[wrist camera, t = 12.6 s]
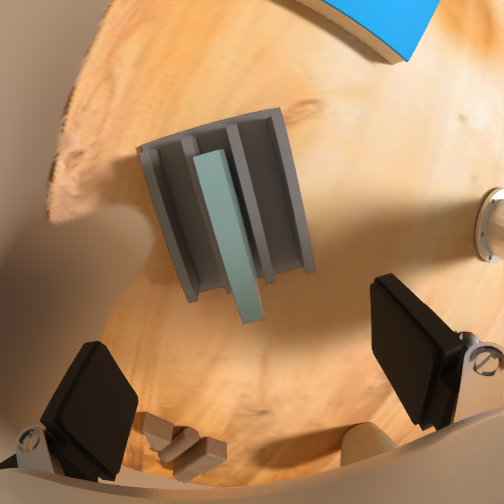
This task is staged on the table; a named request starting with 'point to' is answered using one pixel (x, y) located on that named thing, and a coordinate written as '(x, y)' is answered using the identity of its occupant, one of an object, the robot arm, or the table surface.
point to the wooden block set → (183, 448)
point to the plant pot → (364, 443)
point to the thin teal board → (230, 232)
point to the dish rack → (248, 191)
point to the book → (380, 22)
